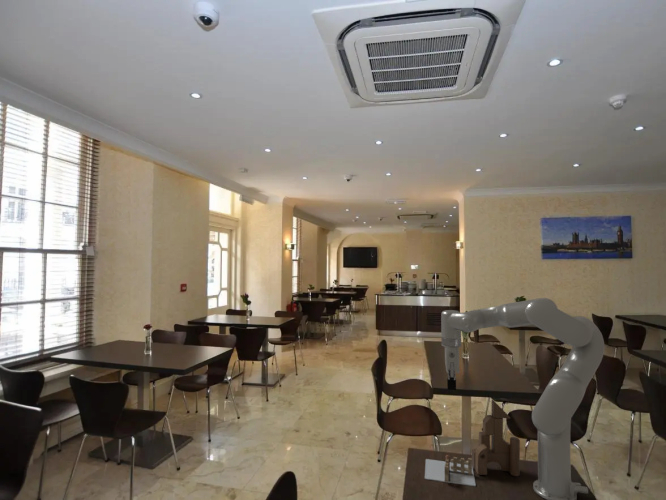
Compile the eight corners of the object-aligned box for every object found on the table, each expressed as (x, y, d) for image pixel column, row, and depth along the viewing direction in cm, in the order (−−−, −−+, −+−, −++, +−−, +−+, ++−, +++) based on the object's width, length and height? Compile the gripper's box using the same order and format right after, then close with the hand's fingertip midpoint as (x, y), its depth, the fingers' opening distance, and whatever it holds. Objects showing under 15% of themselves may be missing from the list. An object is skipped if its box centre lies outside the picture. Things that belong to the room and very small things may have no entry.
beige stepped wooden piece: (445, 469, 142) (445, 454, 142) (449, 469, 142) (449, 455, 142) (444, 482, 134) (444, 467, 134) (448, 483, 133) (448, 467, 133)
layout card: (472, 465, 146) (472, 464, 146) (475, 486, 132) (475, 485, 132) (425, 459, 150) (425, 458, 150) (424, 479, 137) (424, 478, 137)
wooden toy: (477, 475, 139) (478, 404, 140) (471, 465, 145) (472, 398, 146) (521, 477, 138) (521, 406, 139) (513, 467, 145) (513, 399, 146)
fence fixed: (471, 474, 140) (471, 458, 140) (471, 476, 139) (471, 459, 139) (450, 471, 142) (450, 455, 142) (450, 473, 141) (450, 457, 141)
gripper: (462, 346, 144) (463, 396, 143) (460, 339, 158) (460, 384, 158) (441, 345, 146) (442, 394, 145) (441, 338, 160) (441, 382, 160)
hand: (451, 389), depth 151 cm, fingers closed
